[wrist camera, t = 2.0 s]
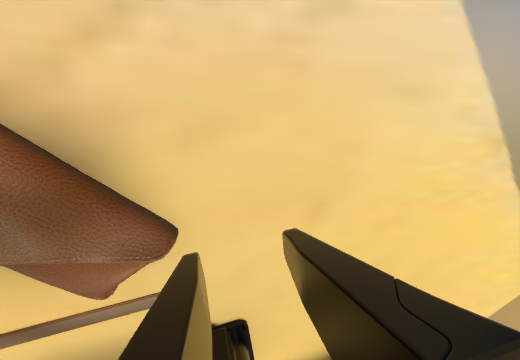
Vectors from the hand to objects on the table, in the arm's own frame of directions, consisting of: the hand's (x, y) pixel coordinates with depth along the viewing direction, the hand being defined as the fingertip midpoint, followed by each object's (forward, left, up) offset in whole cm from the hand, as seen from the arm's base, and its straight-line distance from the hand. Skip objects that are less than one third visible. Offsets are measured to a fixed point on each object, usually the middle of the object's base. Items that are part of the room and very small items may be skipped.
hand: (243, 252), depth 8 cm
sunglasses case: (-1, +12, -12) cm, 17 cm away
